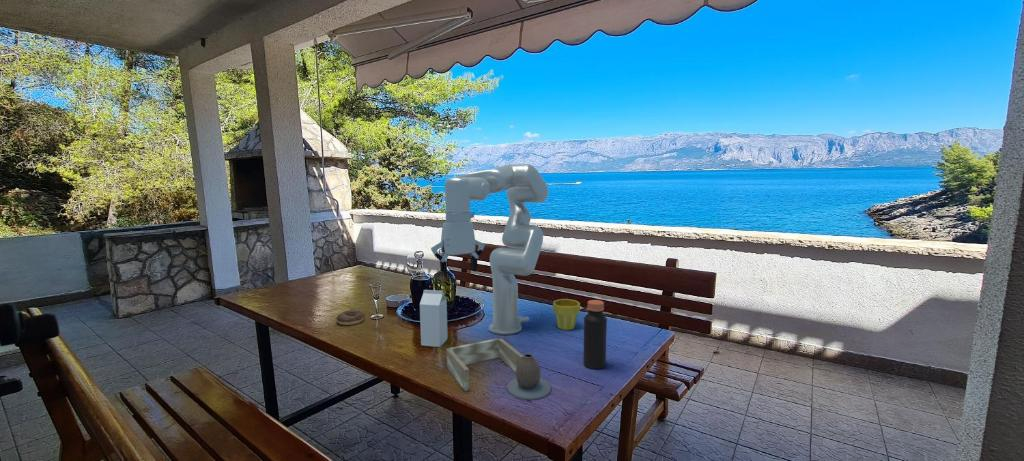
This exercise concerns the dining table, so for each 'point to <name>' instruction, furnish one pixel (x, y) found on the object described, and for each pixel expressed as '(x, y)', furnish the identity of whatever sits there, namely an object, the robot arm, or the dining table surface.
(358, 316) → the donut
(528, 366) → the vase
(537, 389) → the mat
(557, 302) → the plant pot
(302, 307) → the dining table surface
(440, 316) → the milk carton
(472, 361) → the holder
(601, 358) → the bottle
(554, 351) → the dining table surface
